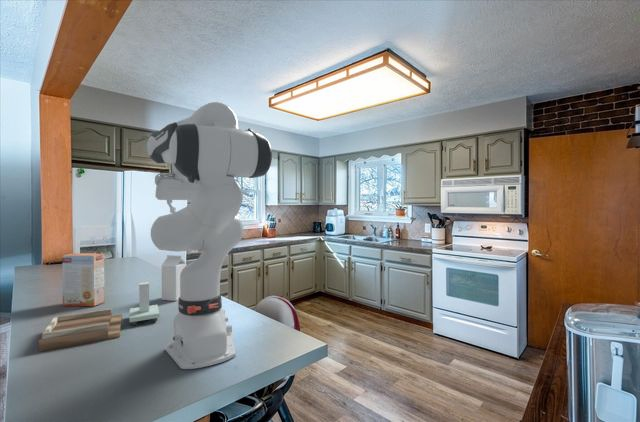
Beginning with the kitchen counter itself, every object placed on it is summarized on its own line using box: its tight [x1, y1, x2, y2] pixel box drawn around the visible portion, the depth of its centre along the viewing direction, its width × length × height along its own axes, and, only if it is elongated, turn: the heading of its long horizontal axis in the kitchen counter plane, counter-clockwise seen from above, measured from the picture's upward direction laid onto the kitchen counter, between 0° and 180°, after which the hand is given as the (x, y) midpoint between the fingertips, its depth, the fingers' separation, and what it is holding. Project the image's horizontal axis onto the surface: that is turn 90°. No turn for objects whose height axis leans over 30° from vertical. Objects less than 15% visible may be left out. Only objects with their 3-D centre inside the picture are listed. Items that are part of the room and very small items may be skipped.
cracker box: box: [61, 252, 105, 307], centre depth 127 cm, size 14×6×21 cm, turn 84°
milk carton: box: [161, 254, 187, 302], centre depth 136 cm, size 7×7×19 cm
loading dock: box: [38, 308, 123, 353], centre depth 99 cm, size 18×19×4 cm
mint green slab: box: [128, 281, 160, 326], centre depth 111 cm, size 11×9×13 cm
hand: (186, 212), depth 112 cm, fingers open, 8 cm apart
